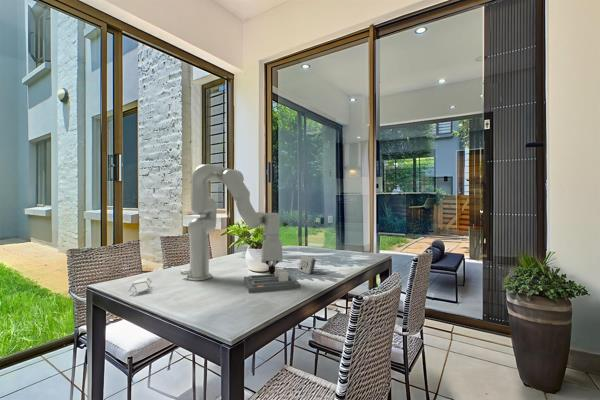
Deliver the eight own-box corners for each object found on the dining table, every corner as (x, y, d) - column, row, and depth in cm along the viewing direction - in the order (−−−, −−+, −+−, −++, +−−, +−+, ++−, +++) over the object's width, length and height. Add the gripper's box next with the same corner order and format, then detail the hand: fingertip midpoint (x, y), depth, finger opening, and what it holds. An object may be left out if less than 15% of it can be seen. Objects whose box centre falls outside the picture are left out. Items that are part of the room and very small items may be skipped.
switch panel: (248, 292, 138) (248, 286, 138) (244, 280, 157) (244, 274, 157) (300, 288, 145) (300, 282, 145) (289, 277, 164) (289, 271, 164)
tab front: (279, 283, 146) (279, 273, 146) (278, 281, 149) (278, 272, 149) (288, 282, 147) (288, 273, 147) (286, 280, 150) (286, 271, 150)
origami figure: (147, 294, 135) (147, 283, 135) (127, 295, 135) (127, 283, 134) (157, 286, 147) (157, 276, 147) (139, 286, 146) (139, 276, 146)
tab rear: (276, 278, 154) (276, 269, 154) (274, 276, 158) (274, 267, 158) (284, 277, 156) (284, 268, 155) (282, 275, 159) (282, 267, 159)
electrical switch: (297, 271, 176) (299, 255, 177) (304, 270, 180) (305, 254, 180) (309, 274, 169) (310, 257, 170) (315, 274, 173) (317, 257, 173)
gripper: (258, 239, 149) (258, 276, 150) (288, 238, 153) (287, 274, 154) (255, 237, 157) (255, 273, 157) (284, 236, 161) (284, 271, 161)
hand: (271, 273), depth 155 cm, fingers closed
